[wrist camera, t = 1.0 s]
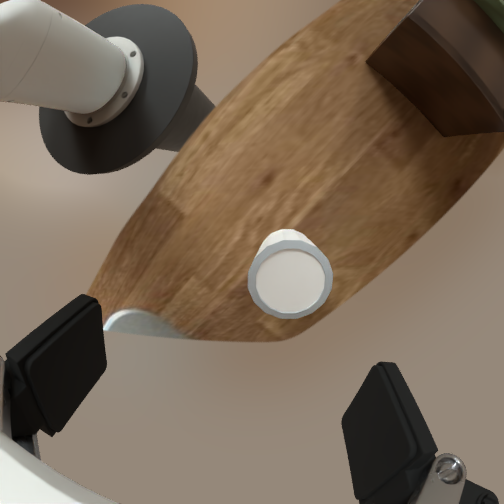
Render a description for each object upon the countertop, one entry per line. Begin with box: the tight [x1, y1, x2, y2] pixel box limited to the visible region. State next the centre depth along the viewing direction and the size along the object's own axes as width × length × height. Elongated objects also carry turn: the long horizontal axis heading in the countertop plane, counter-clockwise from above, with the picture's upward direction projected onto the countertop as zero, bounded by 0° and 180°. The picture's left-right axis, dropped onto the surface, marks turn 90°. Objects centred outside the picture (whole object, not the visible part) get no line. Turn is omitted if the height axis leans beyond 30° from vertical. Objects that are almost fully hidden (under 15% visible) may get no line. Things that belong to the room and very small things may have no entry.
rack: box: [365, 0, 504, 137], centre depth 13 cm, size 12×22×14 cm, turn 143°
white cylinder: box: [248, 229, 333, 319], centre depth 25 cm, size 7×7×7 cm
